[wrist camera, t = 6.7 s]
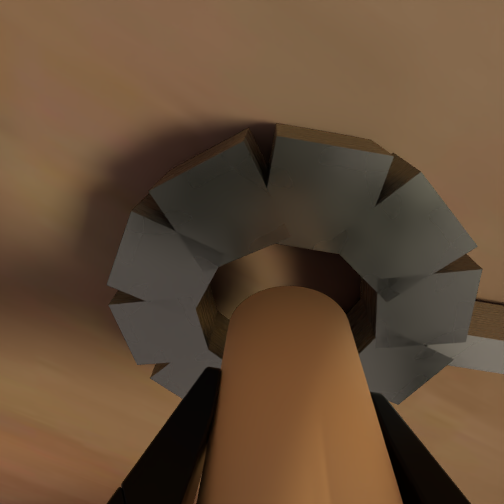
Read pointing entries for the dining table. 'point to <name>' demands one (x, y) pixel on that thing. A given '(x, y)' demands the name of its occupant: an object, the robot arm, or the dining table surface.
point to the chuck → (310, 237)
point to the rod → (294, 409)
